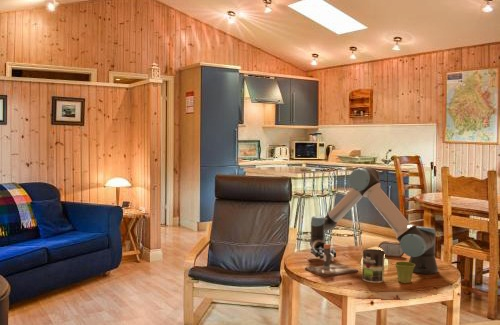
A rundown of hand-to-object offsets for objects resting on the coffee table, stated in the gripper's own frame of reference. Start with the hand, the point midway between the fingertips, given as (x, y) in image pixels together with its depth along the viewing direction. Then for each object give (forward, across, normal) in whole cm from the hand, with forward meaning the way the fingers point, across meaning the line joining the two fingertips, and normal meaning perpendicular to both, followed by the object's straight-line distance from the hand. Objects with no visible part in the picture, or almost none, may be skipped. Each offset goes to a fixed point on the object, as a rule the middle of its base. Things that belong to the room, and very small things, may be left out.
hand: (329, 258), depth 248 cm
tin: (-40, -45, -9) cm, 61 cm away
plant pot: (+10, -35, -9) cm, 38 cm away
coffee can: (+8, -20, -9) cm, 23 cm away
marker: (-5, 0, -7) cm, 9 cm away
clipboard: (-8, -3, -8) cm, 12 cm away
